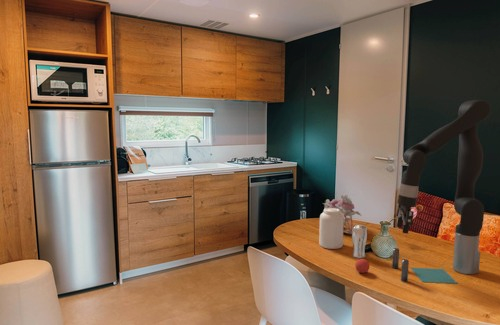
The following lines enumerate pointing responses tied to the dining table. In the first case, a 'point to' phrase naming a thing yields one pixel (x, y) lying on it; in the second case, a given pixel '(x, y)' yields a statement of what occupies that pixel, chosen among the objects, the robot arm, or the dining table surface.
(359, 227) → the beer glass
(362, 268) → the ball
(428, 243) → the dining table surface
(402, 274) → the post
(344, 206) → the flower
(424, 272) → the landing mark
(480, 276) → the dining table surface
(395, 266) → the post
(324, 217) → the white jar
